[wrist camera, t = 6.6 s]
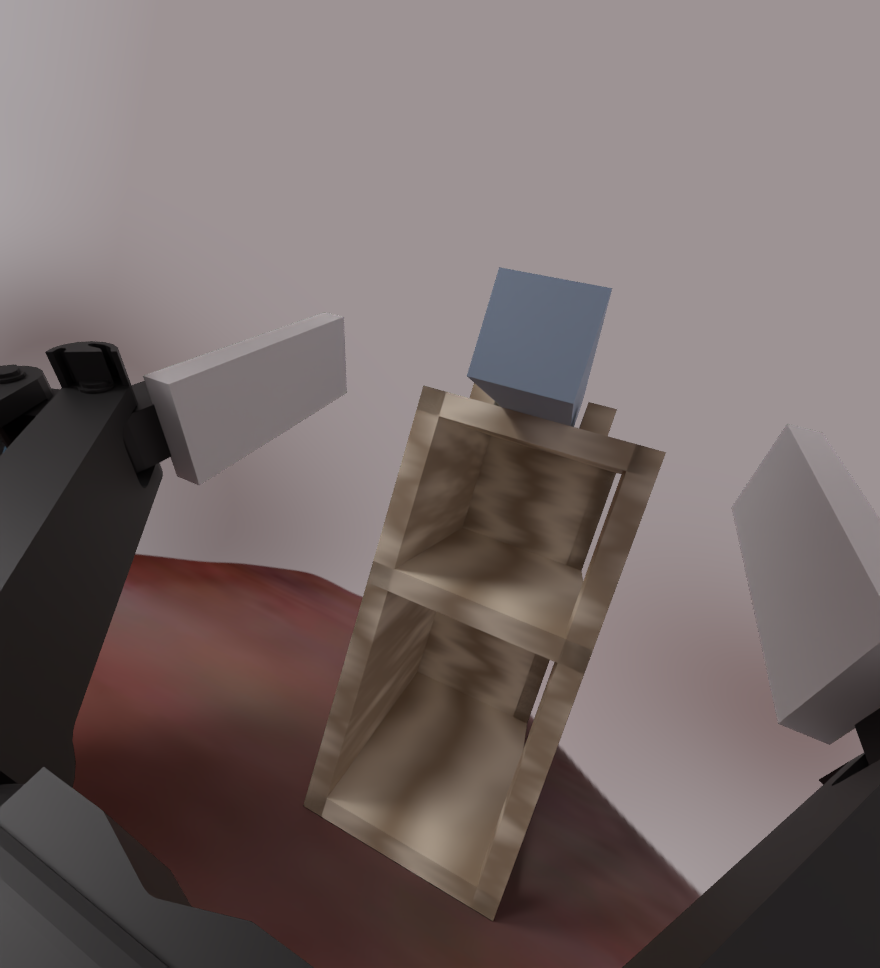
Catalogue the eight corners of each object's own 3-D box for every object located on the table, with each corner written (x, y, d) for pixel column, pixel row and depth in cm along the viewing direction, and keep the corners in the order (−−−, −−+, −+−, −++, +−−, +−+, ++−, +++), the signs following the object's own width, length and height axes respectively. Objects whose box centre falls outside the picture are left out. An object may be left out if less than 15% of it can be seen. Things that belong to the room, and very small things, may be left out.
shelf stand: (303, 805, 30) (430, 361, 26) (406, 671, 49) (488, 405, 45) (493, 921, 26) (676, 424, 22) (524, 727, 45) (624, 443, 41)
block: (466, 376, 16) (499, 267, 15) (527, 430, 41) (540, 389, 40) (573, 403, 15) (611, 288, 14) (568, 441, 40) (582, 400, 39)
